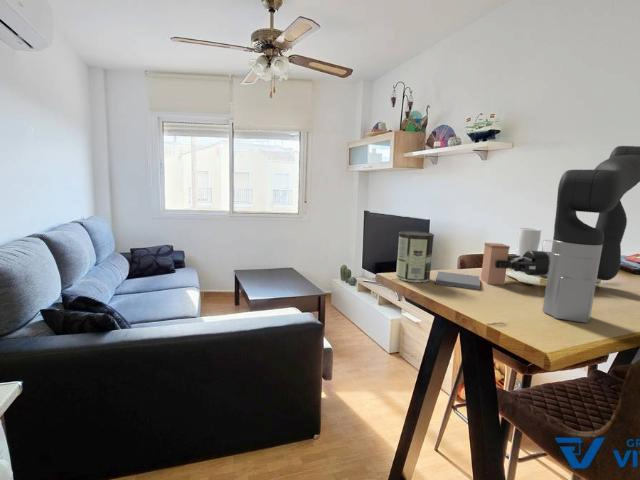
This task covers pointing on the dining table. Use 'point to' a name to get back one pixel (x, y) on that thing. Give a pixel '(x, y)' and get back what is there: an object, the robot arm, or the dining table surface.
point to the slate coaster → (458, 280)
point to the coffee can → (414, 256)
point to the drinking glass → (528, 240)
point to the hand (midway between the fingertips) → (489, 260)
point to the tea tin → (488, 268)
